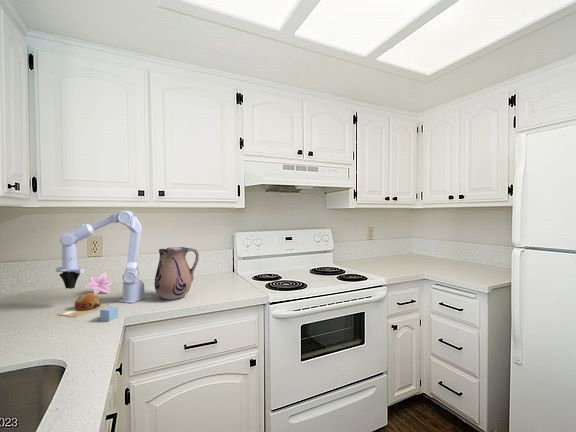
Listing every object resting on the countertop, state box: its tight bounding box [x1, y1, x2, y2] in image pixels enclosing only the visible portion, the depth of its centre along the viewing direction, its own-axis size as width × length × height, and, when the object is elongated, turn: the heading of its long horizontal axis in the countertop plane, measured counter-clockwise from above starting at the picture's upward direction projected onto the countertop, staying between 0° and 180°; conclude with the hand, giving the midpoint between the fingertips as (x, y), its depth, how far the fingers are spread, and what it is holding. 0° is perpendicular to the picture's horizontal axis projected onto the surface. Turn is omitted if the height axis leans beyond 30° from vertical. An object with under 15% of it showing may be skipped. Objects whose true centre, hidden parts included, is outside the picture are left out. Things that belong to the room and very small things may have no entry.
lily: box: [84, 272, 114, 295], centre depth 160 cm, size 12×12×10 cm
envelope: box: [56, 303, 108, 318], centre depth 133 cm, size 16×10×1 cm, turn 165°
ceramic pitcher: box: [153, 246, 200, 301], centre depth 153 cm, size 18×21×25 cm
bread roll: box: [74, 292, 102, 311], centre depth 136 cm, size 10×10×8 cm
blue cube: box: [99, 305, 119, 323], centre depth 122 cm, size 4×4×4 cm
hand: (70, 288), depth 138 cm, fingers closed
